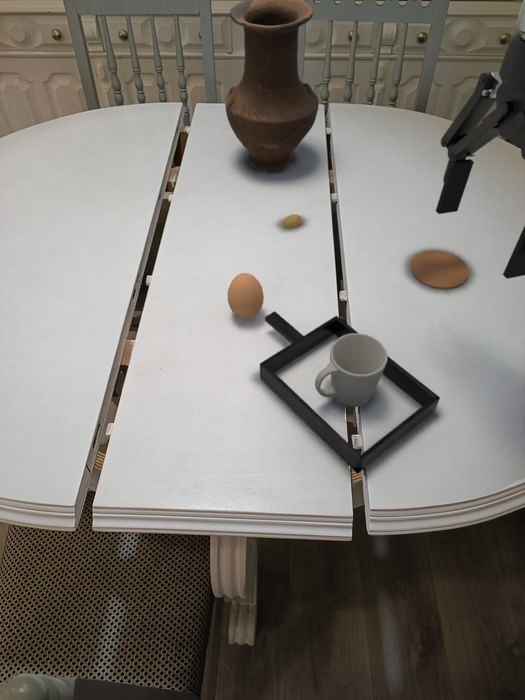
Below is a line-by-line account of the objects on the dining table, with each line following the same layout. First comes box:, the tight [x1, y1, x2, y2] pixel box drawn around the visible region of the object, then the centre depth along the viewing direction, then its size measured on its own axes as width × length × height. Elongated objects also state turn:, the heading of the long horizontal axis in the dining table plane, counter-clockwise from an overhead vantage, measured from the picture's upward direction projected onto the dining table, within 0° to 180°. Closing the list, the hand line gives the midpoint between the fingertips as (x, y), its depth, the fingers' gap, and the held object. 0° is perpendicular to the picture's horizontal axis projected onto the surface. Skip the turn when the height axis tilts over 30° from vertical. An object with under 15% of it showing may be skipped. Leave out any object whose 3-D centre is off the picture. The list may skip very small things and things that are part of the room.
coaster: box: [409, 250, 470, 290], centre depth 94 cm, size 10×10×1 cm
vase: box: [225, 0, 320, 172], centre depth 108 cm, size 19×19×30 cm
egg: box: [227, 272, 265, 319], centre depth 85 cm, size 6×6×8 cm
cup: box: [314, 332, 389, 408], centre depth 73 cm, size 8×10×8 cm
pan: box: [259, 311, 441, 474], centre depth 77 cm, size 27×15×4 cm, turn 39°
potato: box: [282, 214, 303, 229], centre depth 103 cm, size 3×4×2 cm, turn 117°
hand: (478, 241), depth 62 cm, fingers open, 13 cm apart
